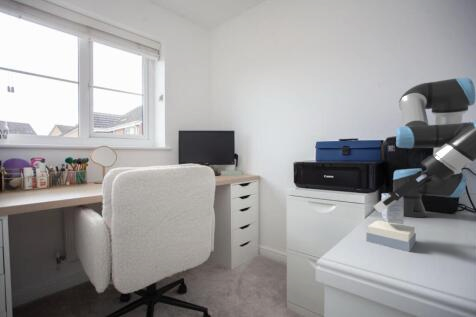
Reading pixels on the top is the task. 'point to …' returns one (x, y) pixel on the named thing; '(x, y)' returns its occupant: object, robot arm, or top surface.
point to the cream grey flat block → (391, 235)
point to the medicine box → (393, 211)
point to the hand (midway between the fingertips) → (380, 207)
